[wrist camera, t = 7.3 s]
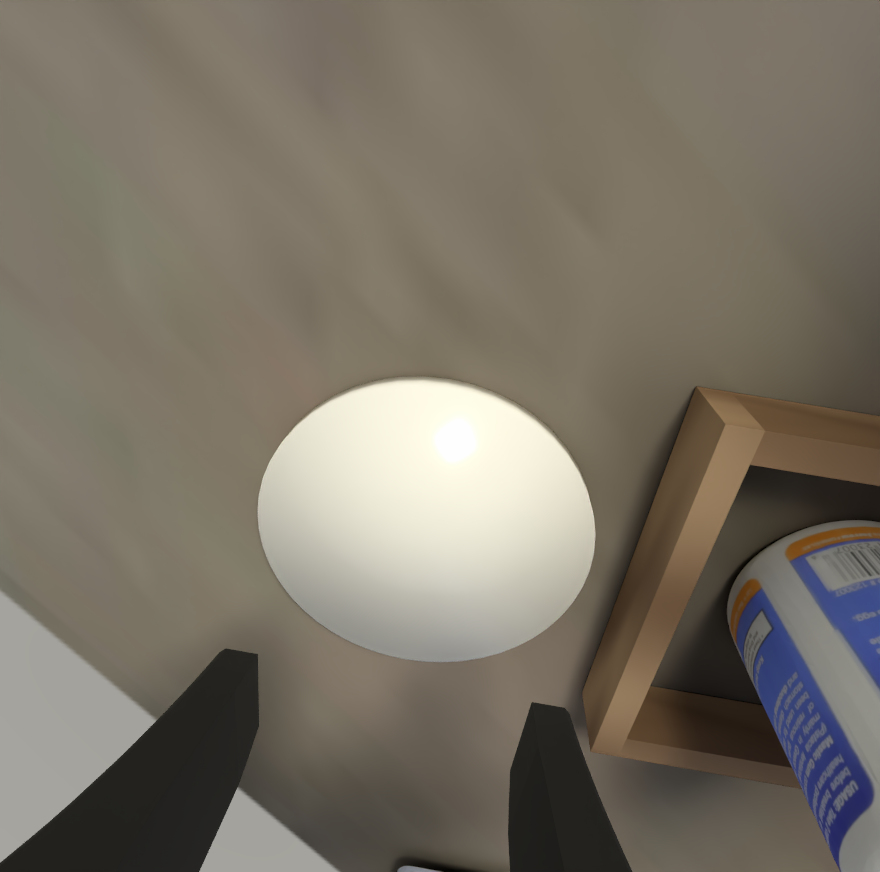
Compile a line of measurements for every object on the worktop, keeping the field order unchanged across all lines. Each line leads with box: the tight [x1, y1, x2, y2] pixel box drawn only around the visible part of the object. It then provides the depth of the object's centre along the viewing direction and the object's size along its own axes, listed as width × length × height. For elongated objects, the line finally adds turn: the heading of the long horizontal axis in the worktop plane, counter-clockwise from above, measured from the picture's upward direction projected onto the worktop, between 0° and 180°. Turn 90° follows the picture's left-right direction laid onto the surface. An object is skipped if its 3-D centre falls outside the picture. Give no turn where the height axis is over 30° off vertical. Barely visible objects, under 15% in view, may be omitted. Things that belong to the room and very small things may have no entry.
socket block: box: [582, 386, 880, 789], centre depth 15 cm, size 11×11×2 cm
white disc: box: [258, 376, 595, 662], centre depth 16 cm, size 9×9×1 cm
